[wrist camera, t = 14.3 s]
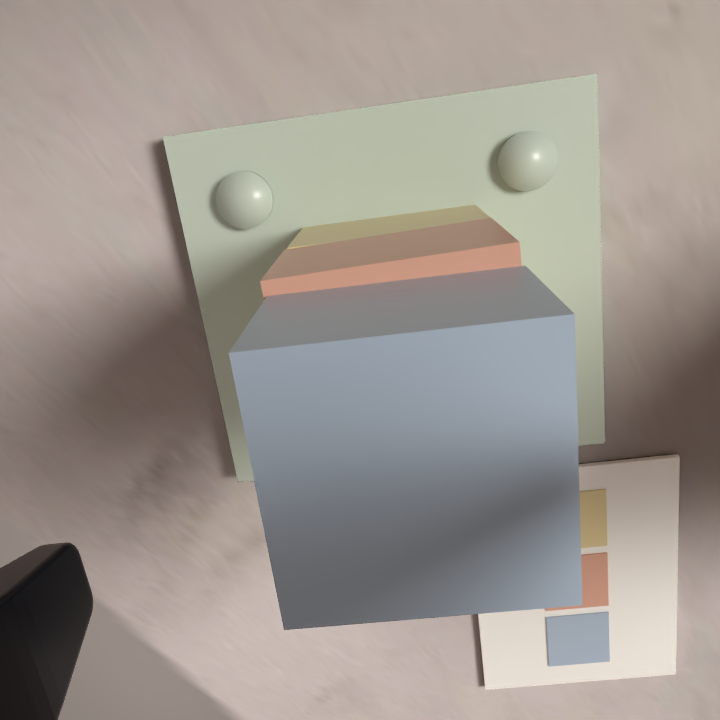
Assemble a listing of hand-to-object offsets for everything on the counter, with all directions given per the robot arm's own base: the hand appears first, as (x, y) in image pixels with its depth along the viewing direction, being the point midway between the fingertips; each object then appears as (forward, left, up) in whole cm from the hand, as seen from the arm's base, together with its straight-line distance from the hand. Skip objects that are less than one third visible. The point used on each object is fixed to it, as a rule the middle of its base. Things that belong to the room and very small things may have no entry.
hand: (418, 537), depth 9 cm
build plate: (0, 0, -13) cm, 13 cm away
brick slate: (0, 0, -5) cm, 5 cm away
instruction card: (-5, +11, -13) cm, 18 cm away
